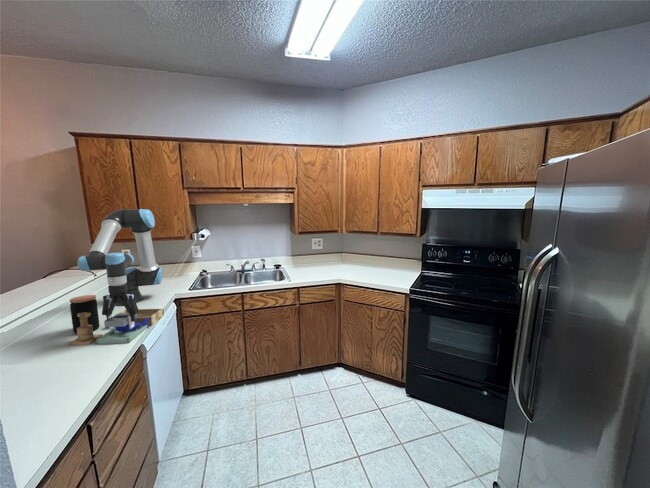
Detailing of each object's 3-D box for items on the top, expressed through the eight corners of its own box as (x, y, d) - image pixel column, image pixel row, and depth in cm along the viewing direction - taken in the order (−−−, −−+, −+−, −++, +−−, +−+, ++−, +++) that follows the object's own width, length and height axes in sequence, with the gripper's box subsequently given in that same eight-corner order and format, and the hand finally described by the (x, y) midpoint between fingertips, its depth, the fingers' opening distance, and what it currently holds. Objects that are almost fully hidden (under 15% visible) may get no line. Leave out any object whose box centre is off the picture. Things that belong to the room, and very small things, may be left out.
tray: (119, 329, 147) (119, 325, 147) (148, 328, 148) (148, 324, 148) (96, 344, 131) (96, 339, 131) (128, 343, 132) (128, 338, 132)
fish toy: (113, 335, 137) (113, 321, 138) (117, 332, 144) (116, 319, 144) (149, 329, 144) (148, 316, 144) (150, 326, 151) (150, 314, 151)
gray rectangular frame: (104, 326, 133) (104, 321, 132) (121, 317, 144) (120, 312, 144) (123, 326, 133) (123, 320, 133) (138, 317, 145) (138, 311, 144)
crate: (126, 319, 161) (125, 309, 160) (164, 318, 162) (163, 308, 161) (110, 328, 148) (109, 318, 147) (151, 327, 149) (150, 317, 148)
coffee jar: (97, 324, 154) (93, 293, 152) (102, 329, 147) (98, 297, 145) (71, 331, 146) (67, 298, 143) (75, 336, 139) (71, 302, 137)
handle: (84, 336, 139) (81, 310, 137) (102, 336, 140) (99, 309, 138) (68, 345, 130) (65, 317, 129) (88, 344, 131) (84, 316, 129)
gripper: (88, 286, 131) (93, 331, 134) (135, 285, 132) (139, 330, 135) (100, 282, 139) (105, 325, 141) (144, 281, 140) (148, 324, 142)
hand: (122, 327), depth 138 cm, fingers closed on gray rectangular frame, 9 cm apart
